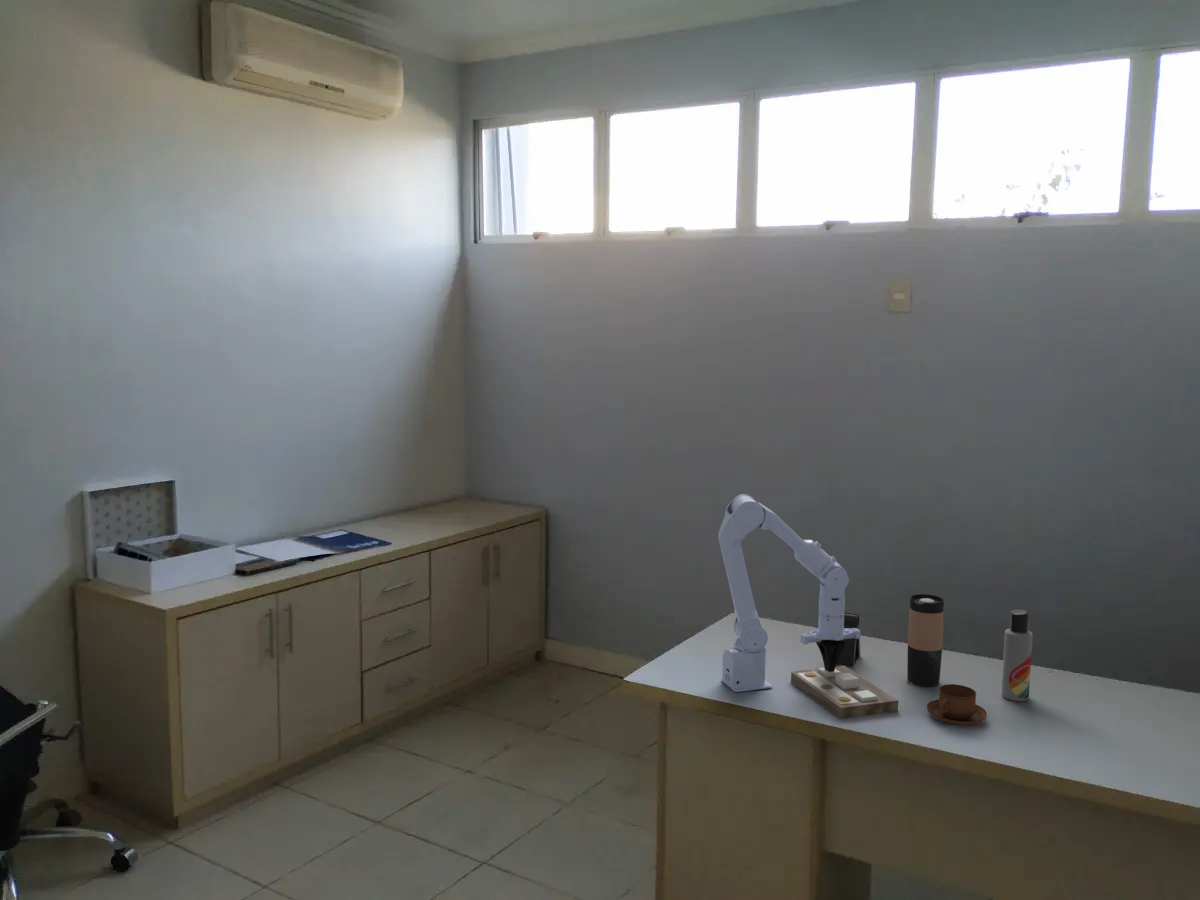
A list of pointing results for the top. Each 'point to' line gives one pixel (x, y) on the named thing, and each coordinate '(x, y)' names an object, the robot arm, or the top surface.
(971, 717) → the cup and saucer
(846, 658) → the phone stand
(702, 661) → the top surface
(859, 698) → the button front
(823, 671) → the button back
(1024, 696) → the lotion bottle
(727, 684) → the robot arm
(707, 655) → the top surface
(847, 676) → the button middle
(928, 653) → the travel mug
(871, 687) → the button board
